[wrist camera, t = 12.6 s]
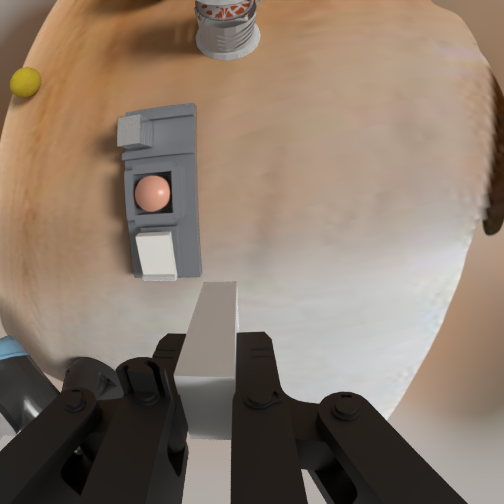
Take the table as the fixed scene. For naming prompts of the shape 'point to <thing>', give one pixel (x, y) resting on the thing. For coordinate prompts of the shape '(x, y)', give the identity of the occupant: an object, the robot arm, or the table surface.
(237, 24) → the french press
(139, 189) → the push button
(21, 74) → the lemon
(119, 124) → the slide switch
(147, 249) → the rocker switch
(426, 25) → the table surface
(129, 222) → the panel
